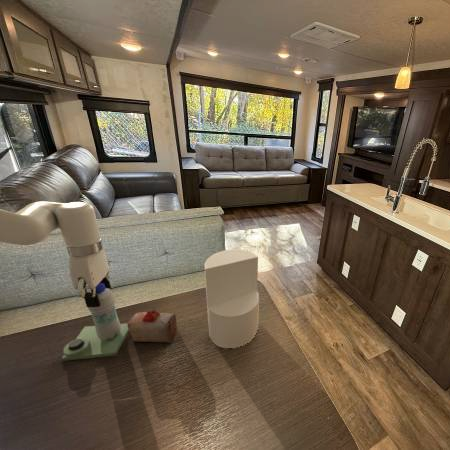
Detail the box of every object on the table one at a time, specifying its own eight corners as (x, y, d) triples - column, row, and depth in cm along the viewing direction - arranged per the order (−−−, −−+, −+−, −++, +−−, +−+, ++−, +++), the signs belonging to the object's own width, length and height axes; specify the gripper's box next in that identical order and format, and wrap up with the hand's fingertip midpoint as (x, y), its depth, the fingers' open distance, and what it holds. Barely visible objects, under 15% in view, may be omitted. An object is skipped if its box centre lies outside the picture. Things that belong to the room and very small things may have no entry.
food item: (127, 344, 79) (121, 321, 76) (141, 325, 87) (136, 303, 83) (170, 346, 80) (167, 323, 77) (180, 327, 88) (177, 305, 84)
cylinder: (203, 321, 91) (198, 255, 80) (247, 306, 101) (248, 245, 90) (217, 357, 78) (213, 285, 67) (266, 336, 88) (269, 269, 77)
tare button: (67, 351, 73) (66, 347, 72) (74, 342, 75) (72, 339, 75) (79, 350, 73) (78, 346, 73) (85, 341, 76) (84, 338, 76)
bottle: (118, 323, 85) (106, 275, 77) (125, 334, 82) (113, 285, 74) (94, 334, 80) (79, 284, 73) (100, 346, 77) (85, 295, 69)
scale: (61, 362, 72) (58, 355, 71) (85, 329, 83) (83, 322, 82) (115, 356, 75) (113, 349, 74) (132, 325, 86) (130, 319, 85)
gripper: (87, 233, 75) (100, 282, 82) (47, 264, 60) (67, 320, 67) (115, 233, 77) (126, 281, 84) (83, 263, 61) (99, 318, 68)
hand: (99, 298), depth 75 cm, fingers closed on bottle, 6 cm apart
